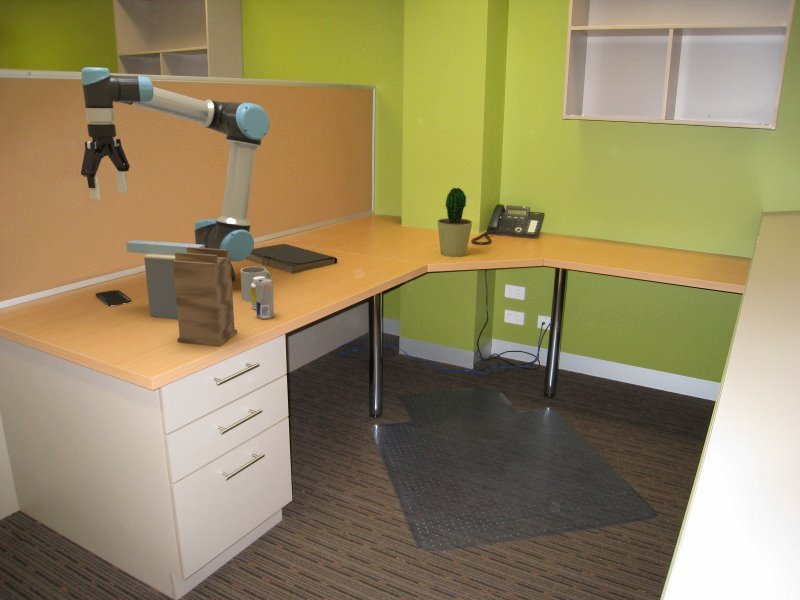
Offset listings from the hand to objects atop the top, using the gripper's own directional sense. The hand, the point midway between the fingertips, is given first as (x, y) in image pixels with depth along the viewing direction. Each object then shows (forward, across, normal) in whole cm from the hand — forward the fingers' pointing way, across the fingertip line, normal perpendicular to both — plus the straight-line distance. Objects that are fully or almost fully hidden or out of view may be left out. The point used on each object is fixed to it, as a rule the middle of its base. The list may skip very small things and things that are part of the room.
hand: (109, 195), depth 197 cm
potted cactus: (+37, -106, +94) cm, 146 cm away
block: (+37, -2, +18) cm, 41 cm away
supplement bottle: (+37, -14, +41) cm, 57 cm away
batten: (+17, -2, +16) cm, 24 cm away
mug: (+37, -25, +36) cm, 57 cm away
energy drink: (+37, -6, +46) cm, 59 cm away
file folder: (+38, -74, +29) cm, 88 cm away
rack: (+37, +15, +37) cm, 54 cm away
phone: (+37, -10, -10) cm, 40 cm away
